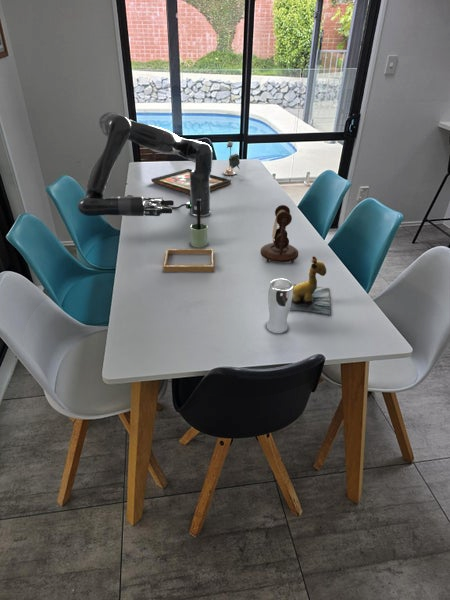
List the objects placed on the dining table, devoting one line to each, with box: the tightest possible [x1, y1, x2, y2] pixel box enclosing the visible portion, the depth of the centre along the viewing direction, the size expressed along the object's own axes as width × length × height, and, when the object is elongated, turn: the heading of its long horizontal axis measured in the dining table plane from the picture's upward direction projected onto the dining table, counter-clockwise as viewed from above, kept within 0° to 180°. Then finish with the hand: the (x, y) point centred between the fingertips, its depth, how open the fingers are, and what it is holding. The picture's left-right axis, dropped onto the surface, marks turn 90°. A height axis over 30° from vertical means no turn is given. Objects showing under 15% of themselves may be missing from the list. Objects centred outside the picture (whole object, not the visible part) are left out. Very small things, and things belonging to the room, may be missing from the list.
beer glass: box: [266, 278, 294, 334], centre depth 115 cm, size 7×7×15 cm
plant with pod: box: [222, 140, 241, 176], centre depth 246 cm, size 8×11×20 cm
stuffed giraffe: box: [290, 255, 331, 316], centre depth 129 cm, size 16×18×16 cm
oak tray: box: [162, 248, 214, 273], centre depth 152 cm, size 18×14×2 cm
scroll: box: [260, 204, 299, 264], centre depth 152 cm, size 15×15×20 cm
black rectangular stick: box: [196, 199, 202, 230], centre depth 161 cm, size 4×1×18 cm, turn 2°
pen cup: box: [189, 222, 209, 248], centre depth 163 cm, size 7×7×8 cm
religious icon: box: [151, 168, 232, 195], centre depth 232 cm, size 38×35×3 cm
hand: (172, 206), depth 158 cm, fingers open, 8 cm apart
